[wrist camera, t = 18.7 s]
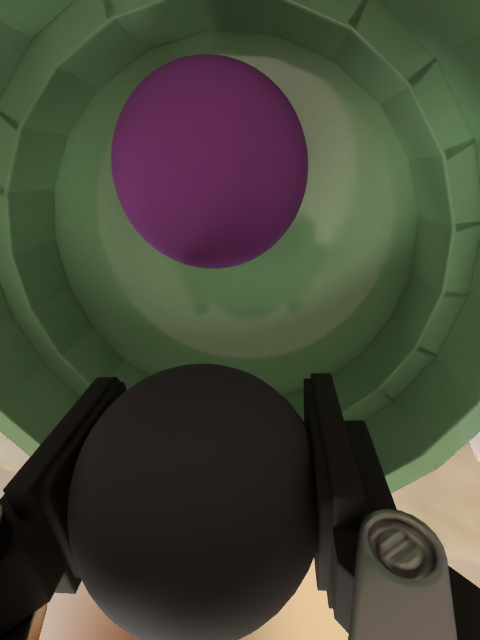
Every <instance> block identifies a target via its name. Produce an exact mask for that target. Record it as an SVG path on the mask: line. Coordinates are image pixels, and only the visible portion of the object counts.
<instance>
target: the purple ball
mask: <svg viewBox="0 0 480 640" xmlns="http://www.w3.org/2000/svg"><path fill="white" fill-rule="evenodd" d="M111 167H112V175H113V181H114V186H115V189H116V193H117V196H118V199H119V201H120V204H121V206H122V209H123V210H124V212H125V214H126V216H127V218H128V219H129V221H130V222H131V224H132V225H133V227H134V228H135V229H136V231H137V232H138V233H139V234H140V235H141V236H142V237H143V239H144V240H145V241H147V242H148V243H149V244H150V245H151V246H152V247H153V248H155V249H156V250H158V251H159V252H160V253H162V254H163V255H165V256H167V257H169V258H171V259H173V260H175V261H177V262H180V263H183V264H186V265H189V266H193V267H199V268H207V269H220V268H228V267H233V266H237V265H241V264H243V263H246V262H248V261H251V260H253V259H255V258H256V257H258V256H260V255H262V254H263V253H265V252H266V251H267V250H269V249H270V248H271V247H272V246H273V245H274V244H275V243H276V242H278V241H279V240H280V239H281V237H282V236H283V235H284V234H285V232H286V231H287V230H288V229H289V227H290V226H291V224H292V222H293V221H294V219H295V217H296V215H297V213H298V211H299V209H300V207H301V204H302V201H303V198H304V194H305V190H306V185H307V179H308V151H307V145H306V140H305V135H304V132H303V129H302V126H301V123H300V120H299V118H298V116H297V114H296V112H295V110H294V108H293V106H292V105H291V103H290V101H289V100H288V98H287V97H286V95H285V94H284V93H283V92H282V91H281V89H280V88H279V87H278V86H277V85H276V84H275V83H274V82H273V81H272V80H271V79H270V78H269V77H267V76H266V75H265V74H264V73H262V72H261V71H259V70H258V69H256V68H255V67H253V66H251V65H249V64H247V63H245V62H243V61H241V60H237V59H234V58H231V57H227V56H222V55H214V54H197V55H191V56H186V57H181V58H178V59H176V60H173V61H170V62H168V63H166V64H164V65H162V66H161V67H159V68H157V69H155V70H154V71H153V72H152V73H150V74H149V75H148V76H147V77H145V78H144V79H143V80H142V81H141V82H140V84H139V85H138V86H137V87H136V88H135V89H134V90H133V92H132V93H131V95H130V96H129V98H128V99H127V101H126V103H125V105H124V107H123V109H122V111H121V113H120V115H119V118H118V121H117V124H116V127H115V130H114V135H113V140H112V150H111Z"/></svg>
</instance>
